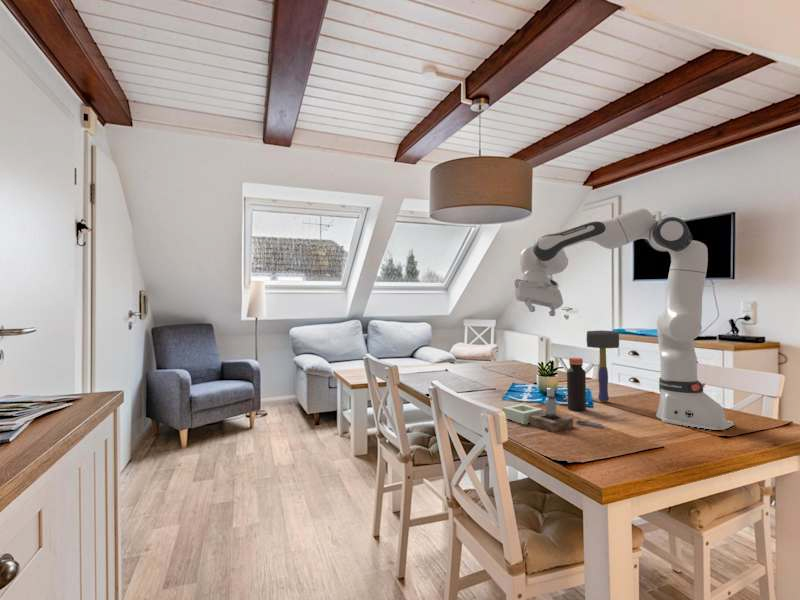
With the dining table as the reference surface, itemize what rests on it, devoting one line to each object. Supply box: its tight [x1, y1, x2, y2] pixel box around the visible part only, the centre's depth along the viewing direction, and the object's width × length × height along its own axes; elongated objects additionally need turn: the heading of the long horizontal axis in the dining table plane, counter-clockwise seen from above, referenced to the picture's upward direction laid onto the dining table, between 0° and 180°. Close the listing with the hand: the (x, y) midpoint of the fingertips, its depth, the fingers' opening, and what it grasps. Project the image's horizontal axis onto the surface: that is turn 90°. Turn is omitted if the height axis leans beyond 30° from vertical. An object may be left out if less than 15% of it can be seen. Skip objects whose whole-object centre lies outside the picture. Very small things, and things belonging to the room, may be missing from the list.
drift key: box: [575, 420, 603, 429], centre depth 148 cm, size 8×2×1 cm, turn 49°
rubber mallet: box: [586, 330, 620, 403], centre depth 180 cm, size 12×8×30 cm, turn 66°
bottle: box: [566, 357, 587, 412], centre depth 169 cm, size 7×7×20 cm
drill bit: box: [545, 387, 557, 420], centre depth 148 cm, size 3×3×13 cm
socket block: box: [529, 412, 574, 433], centre depth 148 cm, size 10×10×3 cm
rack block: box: [502, 403, 544, 425], centre depth 156 cm, size 10×10×4 cm
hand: (542, 313), depth 163 cm, fingers open, 8 cm apart
